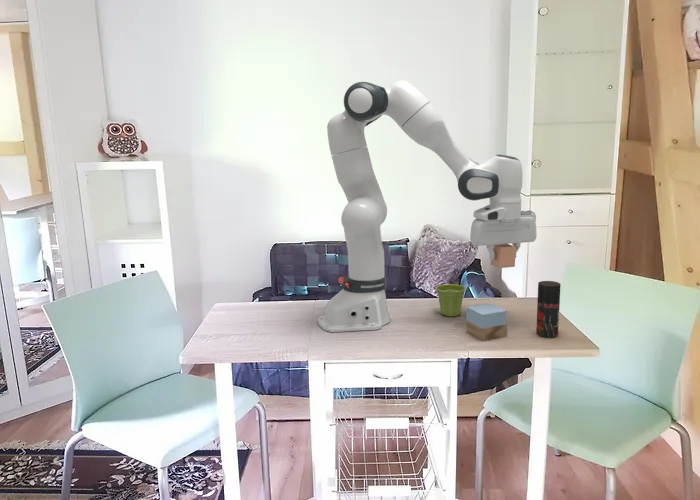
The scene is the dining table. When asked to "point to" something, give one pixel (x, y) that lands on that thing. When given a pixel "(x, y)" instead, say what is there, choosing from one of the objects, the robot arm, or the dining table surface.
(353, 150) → the robot arm
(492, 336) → the tower base
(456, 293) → the plant pot
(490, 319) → the tower top
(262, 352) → the dining table surface
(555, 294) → the deodorant
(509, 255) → the terracotta block
